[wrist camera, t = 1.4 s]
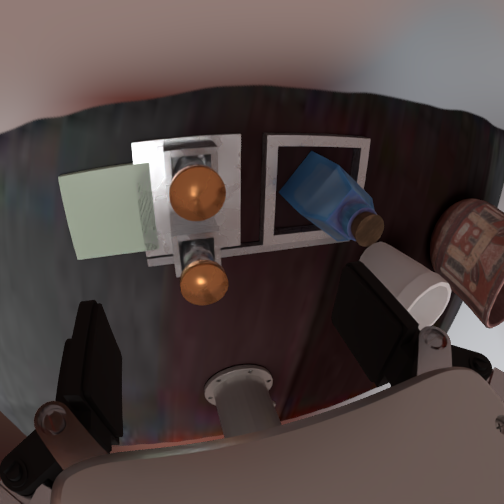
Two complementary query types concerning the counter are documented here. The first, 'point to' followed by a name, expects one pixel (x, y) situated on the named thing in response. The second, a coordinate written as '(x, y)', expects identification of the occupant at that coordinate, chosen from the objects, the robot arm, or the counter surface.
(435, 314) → the foam cup
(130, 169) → the mat
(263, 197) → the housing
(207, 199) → the plunger
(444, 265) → the pottery
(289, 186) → the perfume bottle
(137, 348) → the counter surface
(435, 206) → the counter surface
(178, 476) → the robot arm
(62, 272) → the counter surface
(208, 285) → the plunger
